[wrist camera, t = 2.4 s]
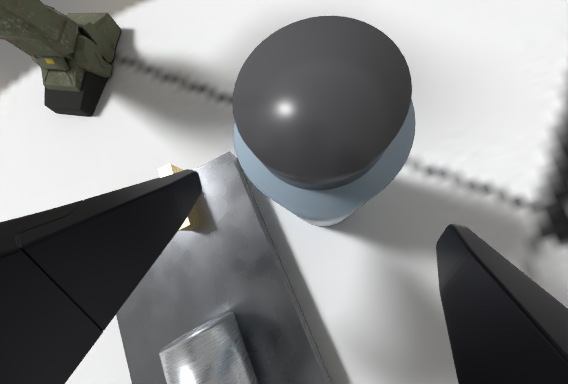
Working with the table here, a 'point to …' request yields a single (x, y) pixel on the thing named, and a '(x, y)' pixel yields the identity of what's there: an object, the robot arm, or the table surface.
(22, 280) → the robot arm
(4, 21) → the mechanical leg
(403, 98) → the bottle
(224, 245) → the plate
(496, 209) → the table surface
